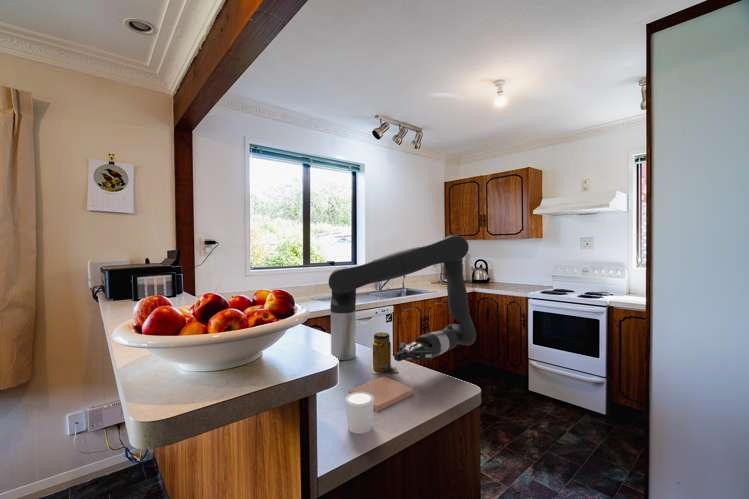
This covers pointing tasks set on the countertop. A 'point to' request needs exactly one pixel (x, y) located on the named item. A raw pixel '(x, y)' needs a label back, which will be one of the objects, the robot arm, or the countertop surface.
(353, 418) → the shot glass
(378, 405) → the tile
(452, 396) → the countertop surface
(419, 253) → the robot arm
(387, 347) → the condiment
